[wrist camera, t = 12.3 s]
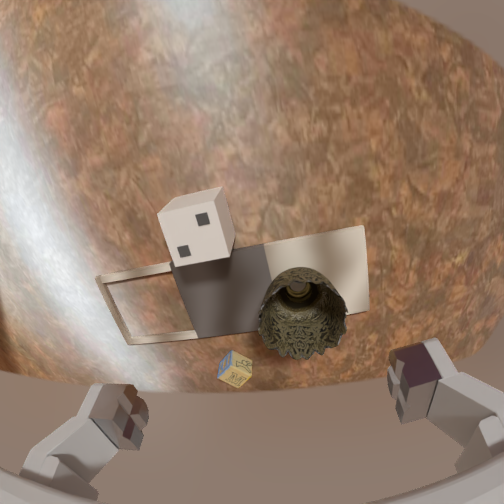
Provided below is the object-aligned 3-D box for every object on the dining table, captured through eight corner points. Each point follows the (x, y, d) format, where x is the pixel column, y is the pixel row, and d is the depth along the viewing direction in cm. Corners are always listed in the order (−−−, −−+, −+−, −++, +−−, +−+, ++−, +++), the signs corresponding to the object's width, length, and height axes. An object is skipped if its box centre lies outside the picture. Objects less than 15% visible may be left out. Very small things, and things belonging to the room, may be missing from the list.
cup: (328, 316, 33) (340, 361, 26) (260, 313, 34) (256, 359, 26) (337, 250, 31) (355, 284, 24) (263, 247, 31) (259, 280, 24)
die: (188, 244, 32) (175, 267, 28) (173, 197, 30) (156, 214, 26) (235, 234, 31) (229, 257, 27) (222, 186, 29) (213, 200, 25)
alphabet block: (232, 348, 38) (229, 365, 35) (253, 359, 38) (252, 377, 36) (219, 361, 39) (216, 378, 36) (239, 372, 40) (237, 389, 37)
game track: (129, 341, 38) (127, 344, 38) (96, 276, 34) (94, 278, 34) (368, 307, 34) (369, 310, 34) (362, 225, 30) (364, 227, 30)
